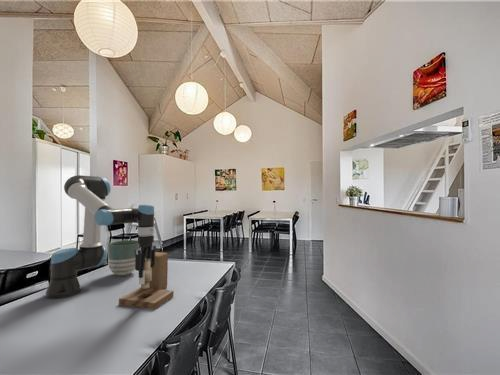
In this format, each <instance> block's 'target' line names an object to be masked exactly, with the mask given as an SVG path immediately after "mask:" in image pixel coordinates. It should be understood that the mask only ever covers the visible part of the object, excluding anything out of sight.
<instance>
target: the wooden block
mask: <svg viewBox="0 0 500 375" xmlns="http://www.w3.org/2000/svg"><path fill="white" fill-rule="evenodd" d="M168 256H169V253H168V252H160V251H159V252H158V251H155V265H153V266H154V267H152V279H151V281H150V282H149V288H152V289H161V290H165V289H166V288H167V287H168V271H169V270H168V268H169V266H168V259H169V257H168ZM152 263H153V262H152Z"/></svg>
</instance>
